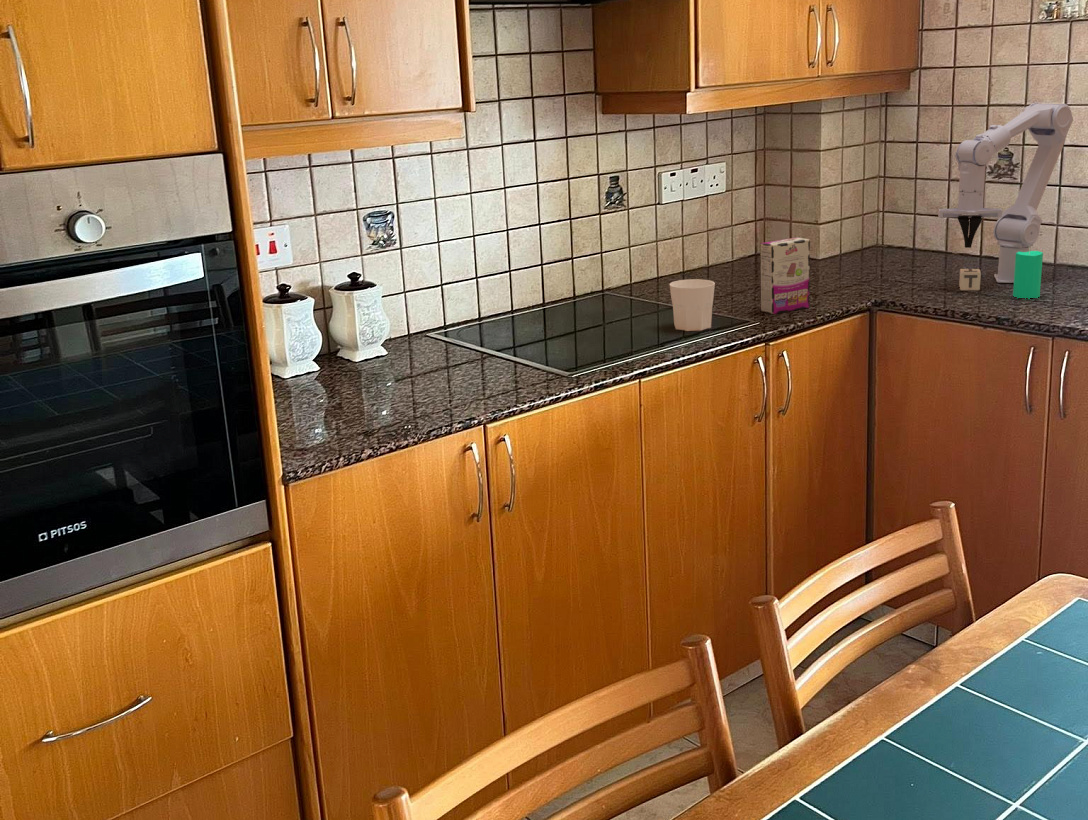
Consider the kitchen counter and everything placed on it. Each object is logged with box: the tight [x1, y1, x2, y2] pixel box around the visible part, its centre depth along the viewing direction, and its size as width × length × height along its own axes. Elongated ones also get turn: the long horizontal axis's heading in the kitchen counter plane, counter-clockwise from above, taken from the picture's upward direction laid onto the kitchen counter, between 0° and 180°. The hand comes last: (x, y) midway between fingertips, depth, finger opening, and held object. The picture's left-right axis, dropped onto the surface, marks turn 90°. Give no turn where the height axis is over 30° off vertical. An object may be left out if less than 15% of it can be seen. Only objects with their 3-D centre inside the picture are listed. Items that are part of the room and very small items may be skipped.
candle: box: [1012, 246, 1044, 300], centre depth 275 cm, size 6×6×12 cm
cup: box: [669, 278, 716, 332], centre depth 261 cm, size 10×10×10 cm
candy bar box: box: [759, 236, 811, 315], centre depth 273 cm, size 11×5×16 cm, turn 117°
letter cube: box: [958, 268, 982, 291], centre depth 288 cm, size 5×4×5 cm
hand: (967, 247), depth 285 cm, fingers closed
